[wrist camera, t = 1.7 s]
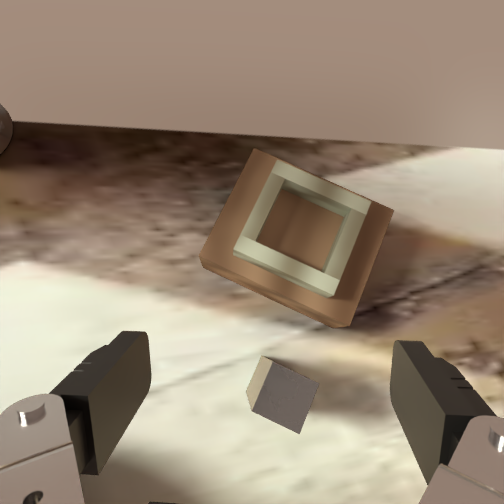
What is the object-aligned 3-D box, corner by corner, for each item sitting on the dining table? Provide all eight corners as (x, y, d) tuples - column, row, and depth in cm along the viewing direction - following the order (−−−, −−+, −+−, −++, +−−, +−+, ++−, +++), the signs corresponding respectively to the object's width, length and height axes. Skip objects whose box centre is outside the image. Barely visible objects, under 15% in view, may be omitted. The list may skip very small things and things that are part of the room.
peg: (245, 391, 39) (251, 410, 28) (261, 355, 39) (272, 361, 29) (280, 408, 38) (299, 434, 28) (295, 371, 39) (319, 383, 29)
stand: (203, 267, 41) (196, 249, 33) (251, 173, 44) (255, 134, 36) (332, 328, 41) (358, 324, 32) (372, 227, 44) (405, 201, 35)
